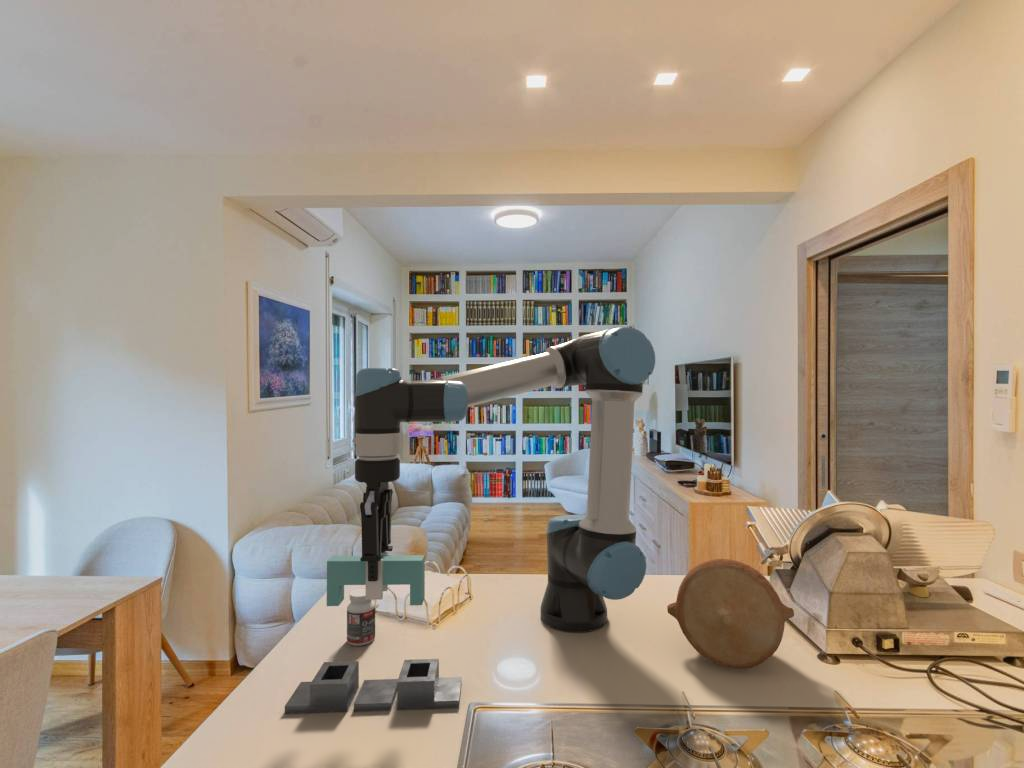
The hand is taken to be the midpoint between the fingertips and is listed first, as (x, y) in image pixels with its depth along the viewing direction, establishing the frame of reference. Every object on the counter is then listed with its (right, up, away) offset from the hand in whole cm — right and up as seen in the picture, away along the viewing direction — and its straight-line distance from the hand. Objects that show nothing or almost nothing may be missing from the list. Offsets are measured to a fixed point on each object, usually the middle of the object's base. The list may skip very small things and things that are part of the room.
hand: (376, 594), depth 88 cm
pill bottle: (-8, -18, +19) cm, 27 cm away
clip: (0, -1, 0) cm, 1 cm away
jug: (+68, -17, +16) cm, 72 cm away
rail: (0, -17, -1) cm, 17 cm away
